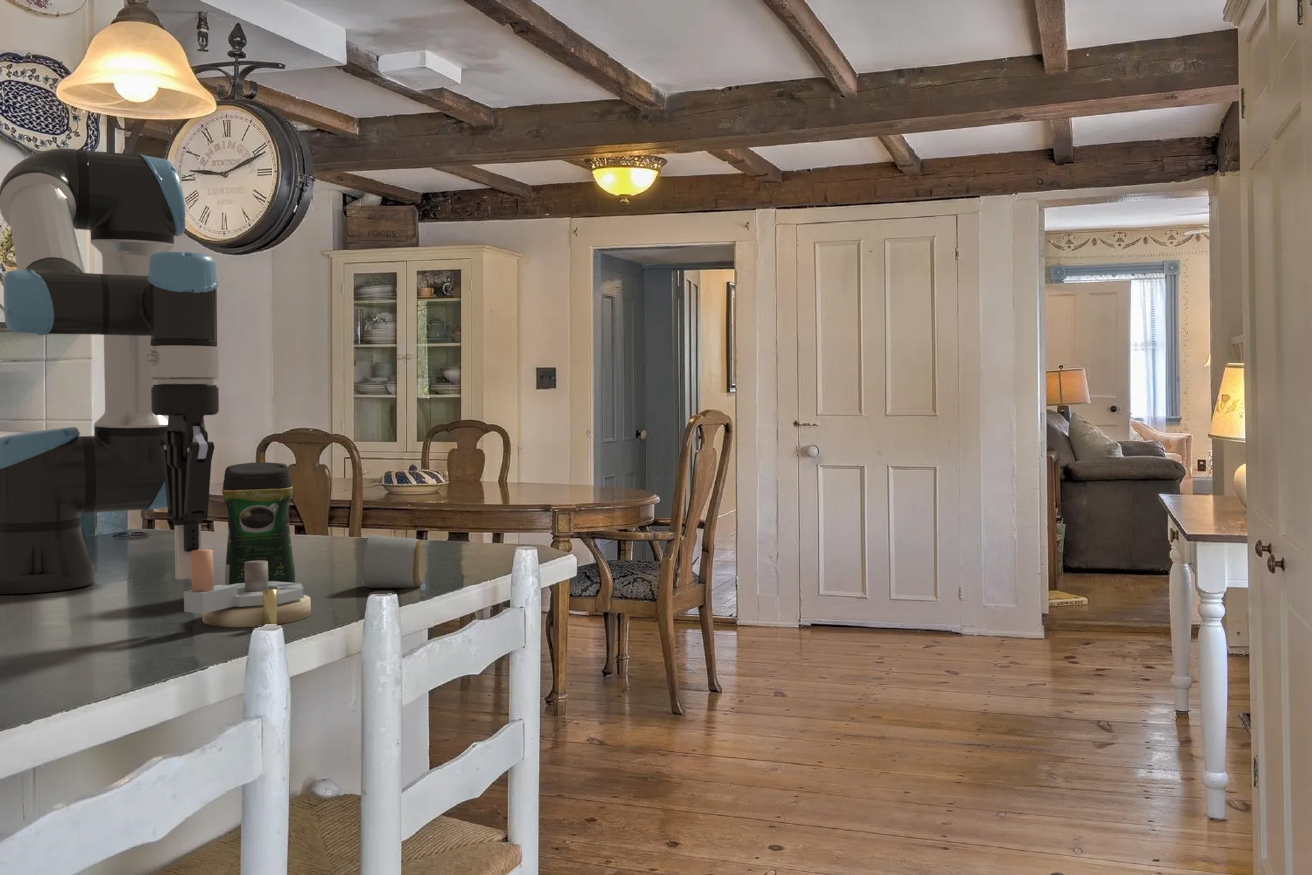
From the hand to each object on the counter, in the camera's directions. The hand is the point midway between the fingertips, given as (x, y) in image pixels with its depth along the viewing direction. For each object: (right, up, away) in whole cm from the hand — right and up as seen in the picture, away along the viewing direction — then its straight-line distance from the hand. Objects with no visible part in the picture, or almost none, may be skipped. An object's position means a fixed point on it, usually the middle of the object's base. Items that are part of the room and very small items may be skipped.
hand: (188, 577), depth 140 cm
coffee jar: (0, -5, +27) cm, 27 cm away
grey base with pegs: (+5, -3, +4) cm, 7 cm away
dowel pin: (+10, -6, 0) cm, 11 cm away
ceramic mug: (+18, -5, +31) cm, 36 cm away
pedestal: (+6, -6, +7) cm, 11 cm away
